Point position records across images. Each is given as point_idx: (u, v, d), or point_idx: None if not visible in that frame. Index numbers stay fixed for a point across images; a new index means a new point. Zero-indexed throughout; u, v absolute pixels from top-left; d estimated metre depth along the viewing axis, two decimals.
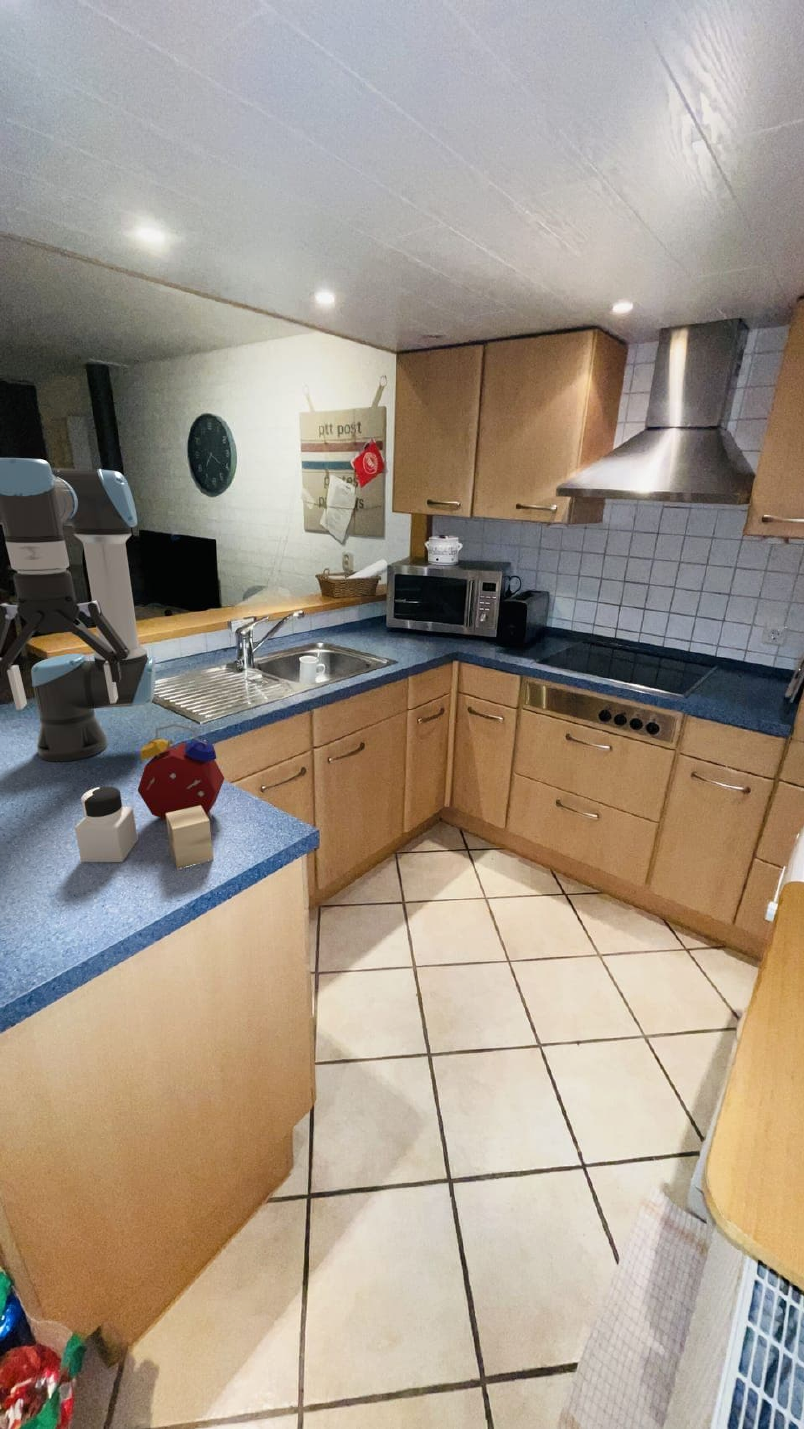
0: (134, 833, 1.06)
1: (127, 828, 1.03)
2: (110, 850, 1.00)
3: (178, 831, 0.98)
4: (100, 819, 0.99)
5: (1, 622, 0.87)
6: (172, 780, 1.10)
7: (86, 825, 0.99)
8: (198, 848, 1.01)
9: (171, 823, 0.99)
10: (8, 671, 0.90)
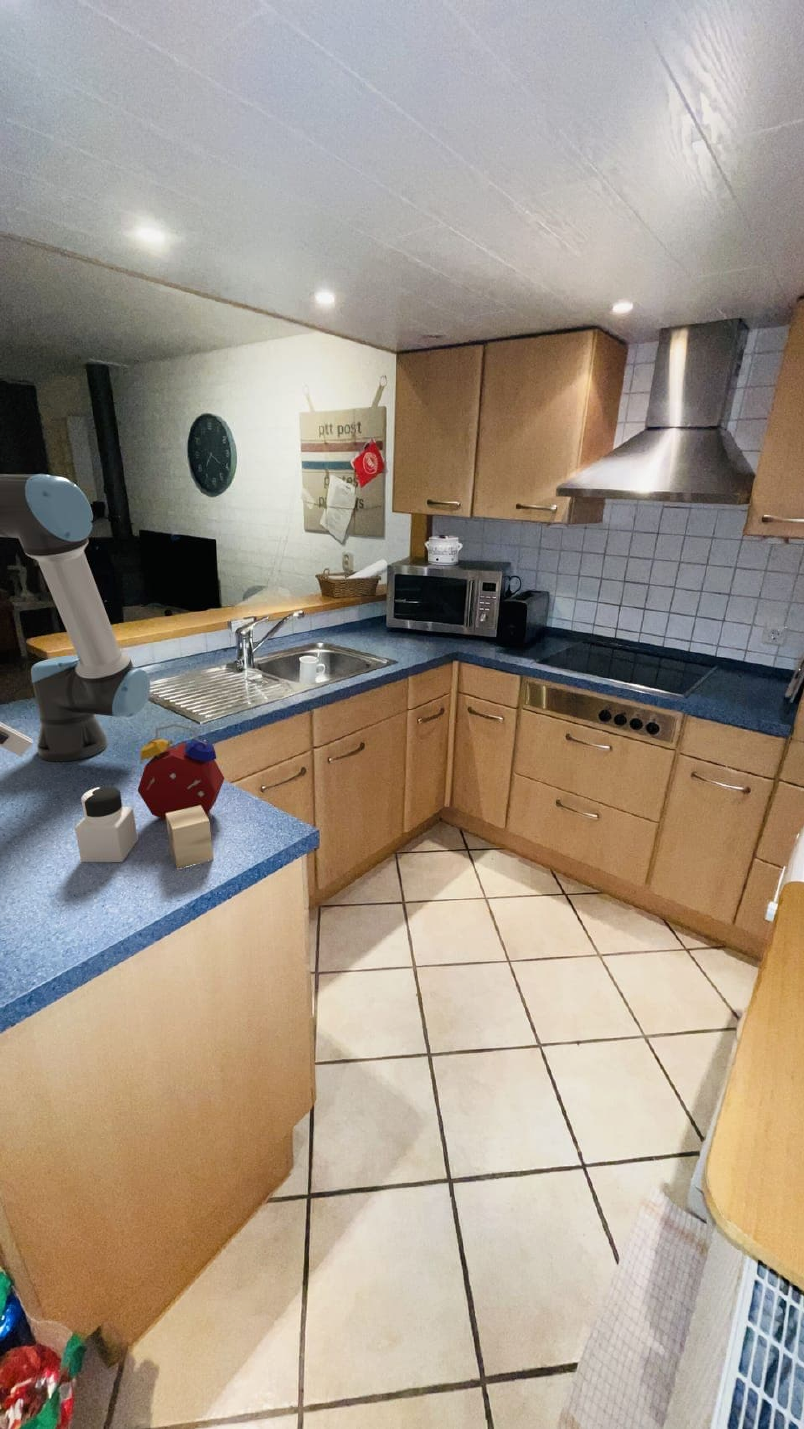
0: (134, 833, 1.06)
1: (127, 828, 1.03)
2: (110, 850, 1.00)
3: (177, 831, 0.98)
4: (100, 819, 0.99)
5: None
6: (172, 780, 1.10)
7: (86, 825, 0.99)
8: (198, 848, 1.01)
9: (171, 823, 0.99)
10: None
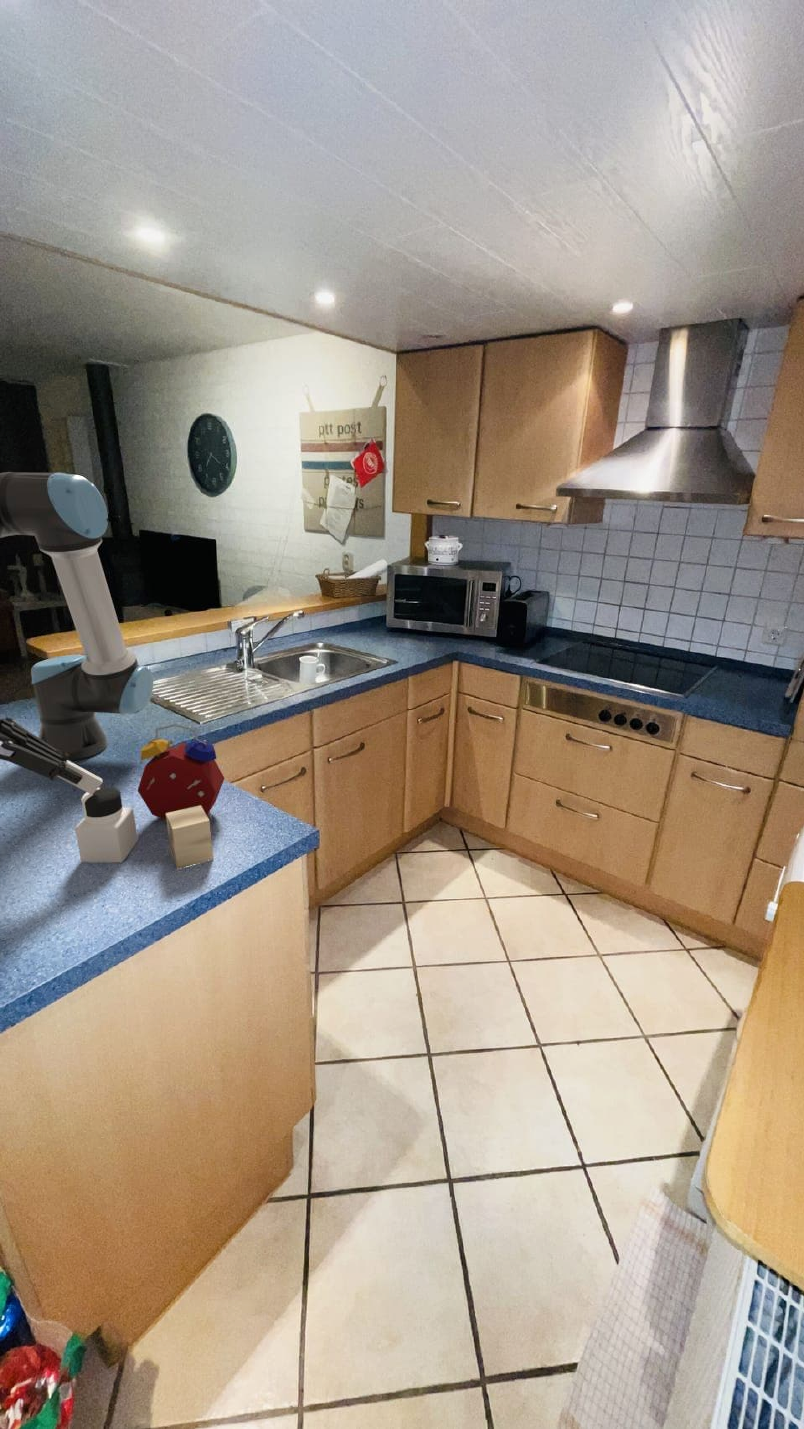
0: (134, 833, 1.06)
1: (127, 828, 1.03)
2: (110, 850, 1.00)
3: (177, 831, 0.98)
4: (100, 819, 0.99)
5: None
6: (172, 780, 1.10)
7: (86, 825, 0.99)
8: (198, 848, 1.01)
9: (171, 823, 0.99)
10: None
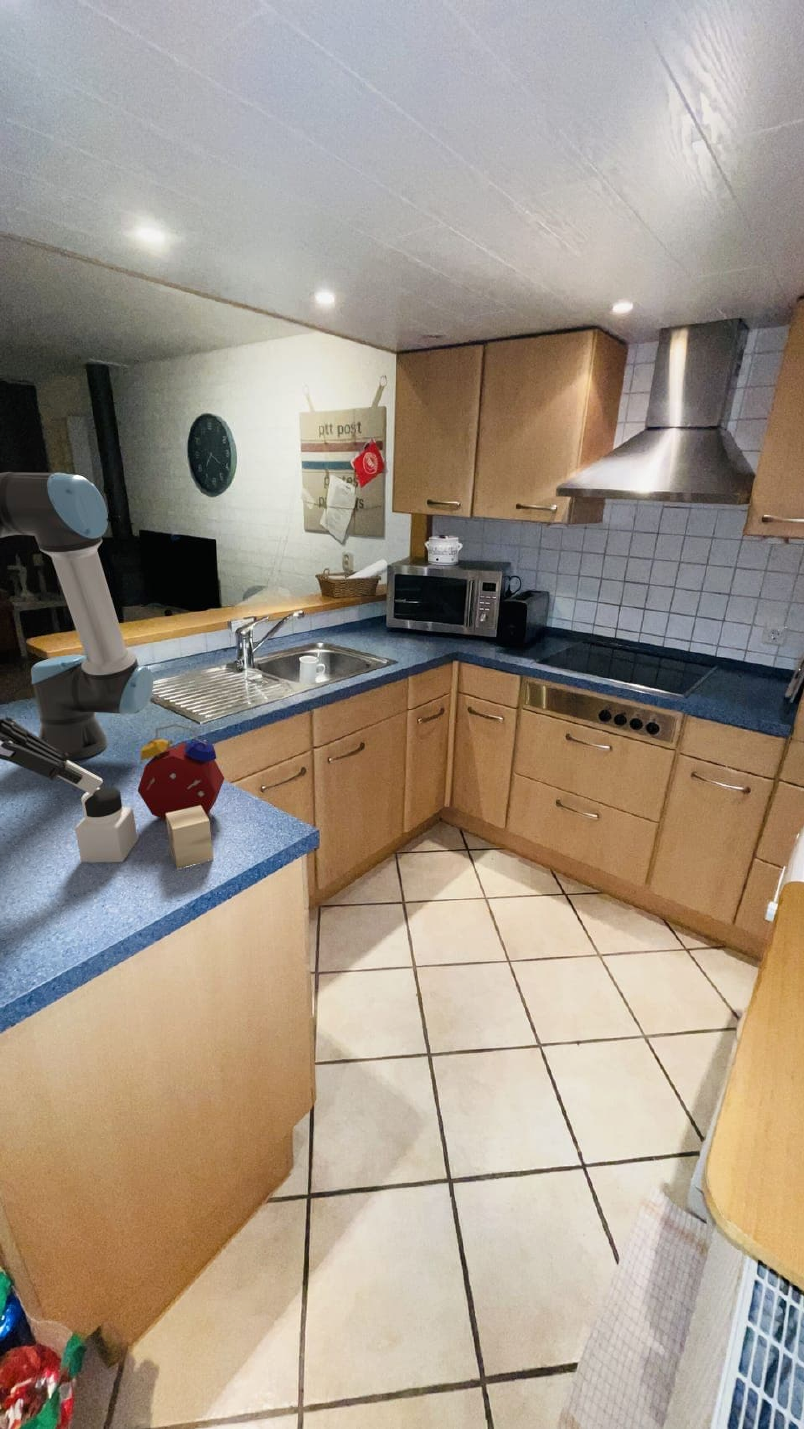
0: (134, 833, 1.06)
1: (127, 828, 1.03)
2: (110, 850, 1.00)
3: (177, 831, 0.98)
4: (100, 819, 0.99)
5: None
6: (172, 780, 1.10)
7: (86, 825, 0.99)
8: (198, 848, 1.01)
9: (171, 823, 0.99)
10: None
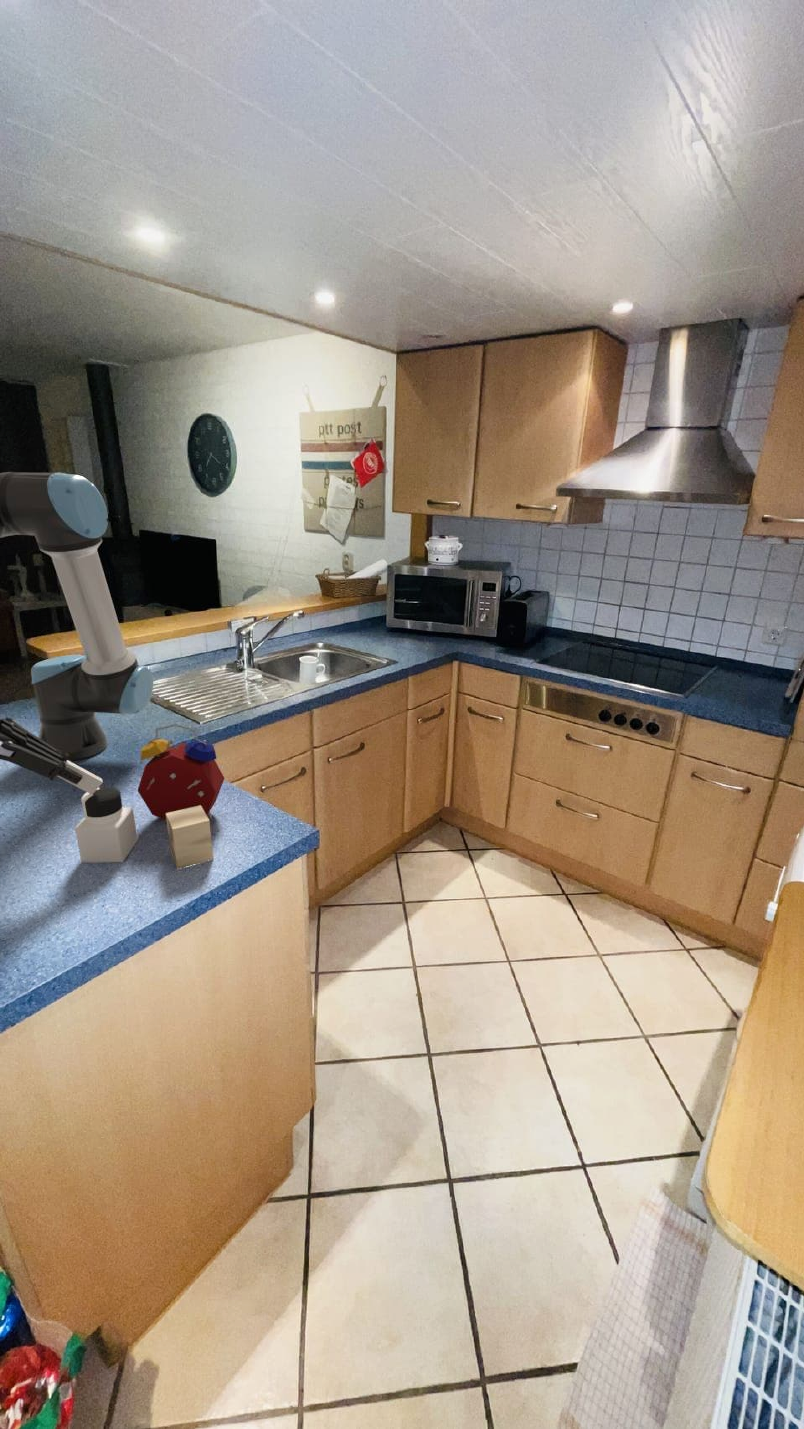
0: (134, 833, 1.06)
1: (127, 828, 1.03)
2: (111, 850, 1.01)
3: (178, 831, 0.98)
4: (100, 819, 0.99)
5: None
6: (172, 780, 1.10)
7: (86, 825, 0.99)
8: (198, 848, 1.01)
9: (171, 823, 0.99)
10: None
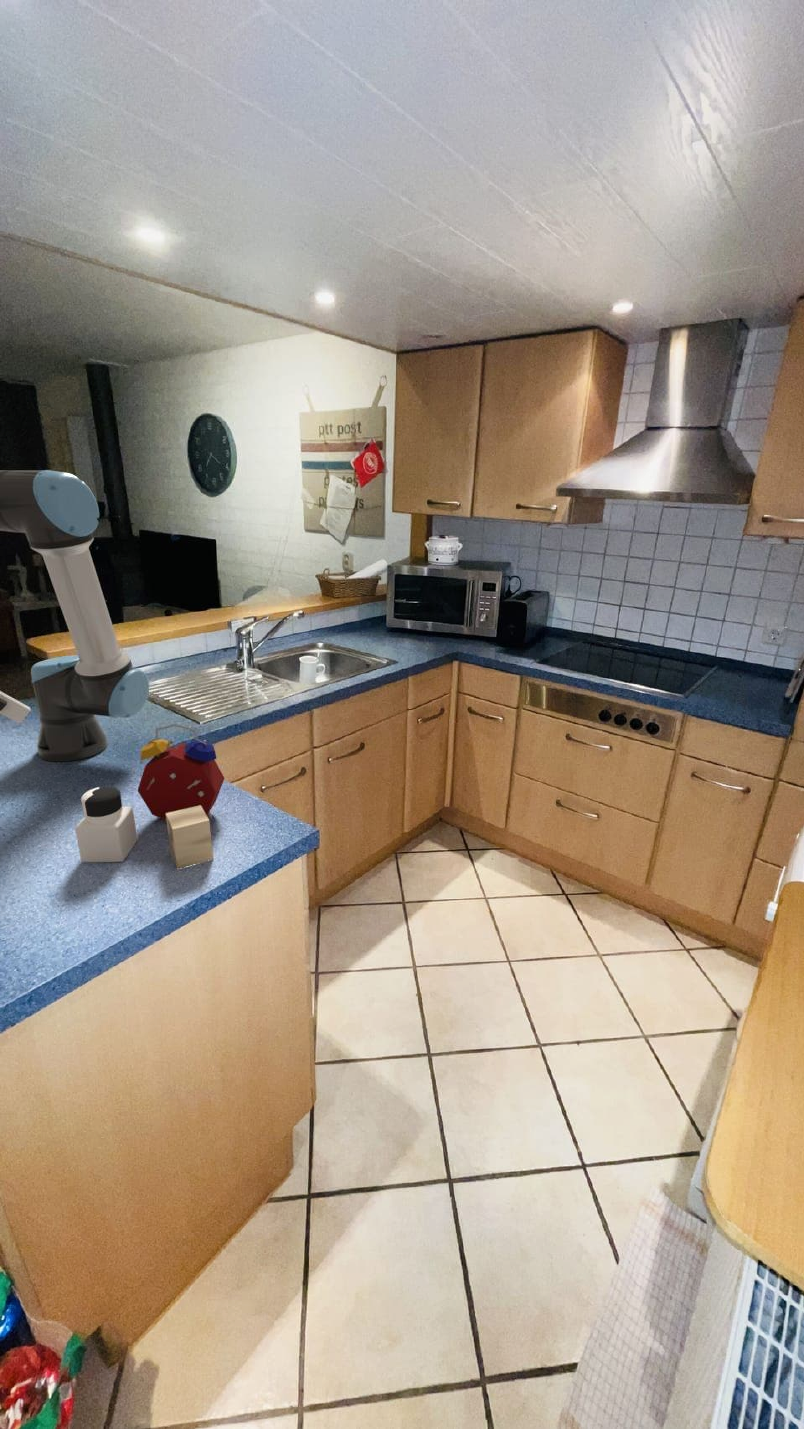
0: (134, 832, 1.06)
1: (127, 827, 1.03)
2: (111, 849, 1.01)
3: (178, 831, 0.98)
4: (101, 819, 0.99)
5: None
6: (172, 780, 1.10)
7: (86, 825, 0.99)
8: (198, 848, 1.01)
9: (171, 823, 0.99)
10: None
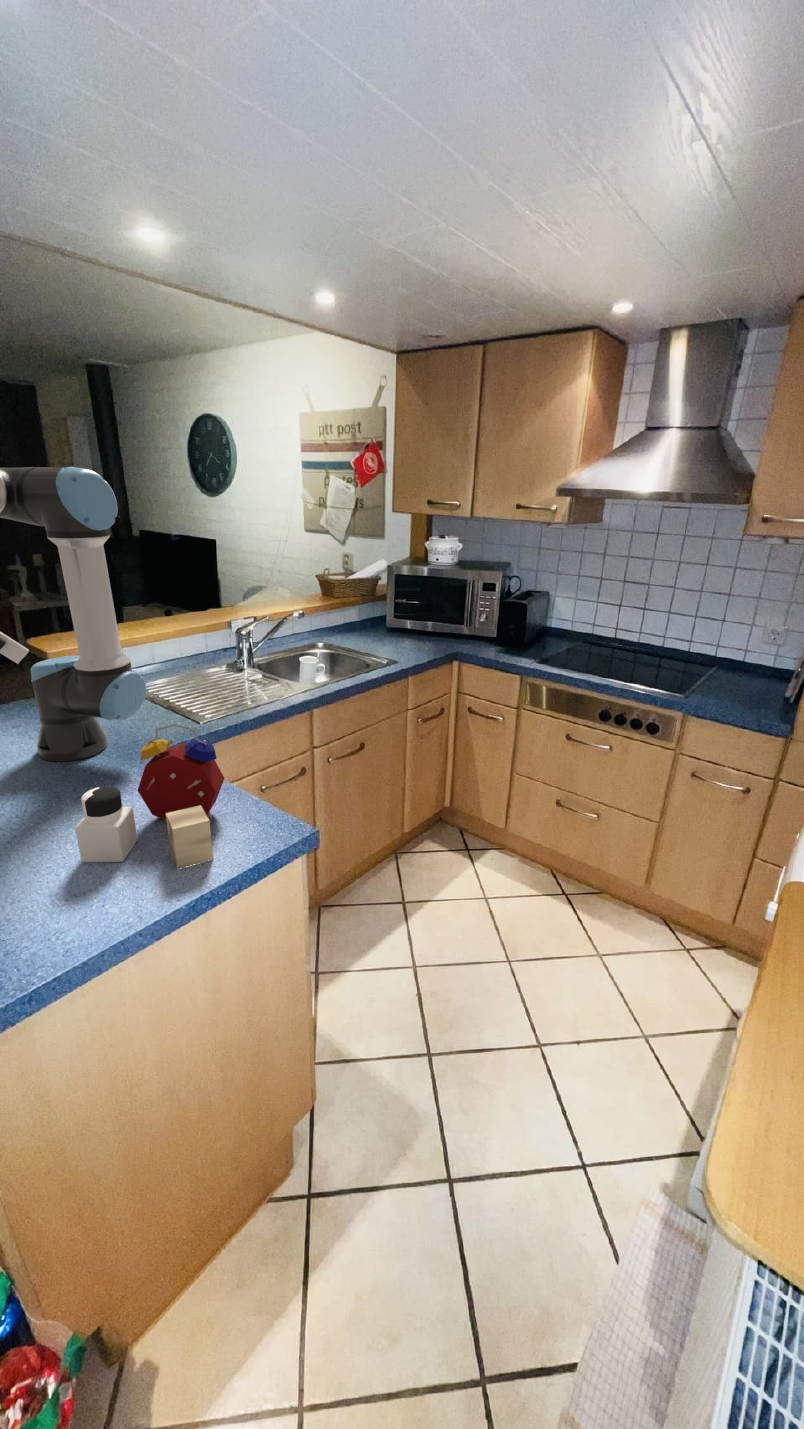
0: (134, 832, 1.06)
1: (127, 827, 1.03)
2: (111, 849, 1.01)
3: (178, 831, 0.98)
4: (101, 819, 0.99)
5: None
6: (172, 780, 1.10)
7: (86, 825, 0.99)
8: (198, 848, 1.01)
9: (171, 823, 0.99)
10: None
